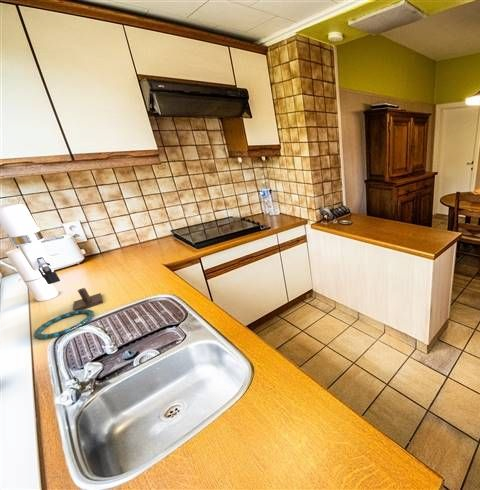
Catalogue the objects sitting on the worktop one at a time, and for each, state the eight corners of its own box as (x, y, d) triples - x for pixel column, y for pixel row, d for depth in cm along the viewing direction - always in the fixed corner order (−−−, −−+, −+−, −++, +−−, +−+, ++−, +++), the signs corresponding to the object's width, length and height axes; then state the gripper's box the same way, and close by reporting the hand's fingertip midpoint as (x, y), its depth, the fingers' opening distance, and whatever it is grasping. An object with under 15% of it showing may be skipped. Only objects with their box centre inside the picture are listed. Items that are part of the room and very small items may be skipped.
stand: (75, 312, 115) (66, 297, 112) (75, 304, 121) (67, 290, 118) (103, 302, 121) (95, 288, 118) (101, 295, 127) (94, 282, 124)
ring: (33, 346, 96) (31, 342, 96) (37, 326, 107) (35, 323, 106) (95, 323, 107) (93, 319, 106) (93, 307, 118) (92, 304, 117)
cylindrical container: (57, 291, 132) (30, 245, 123) (58, 295, 128) (30, 249, 118) (36, 298, 127) (5, 251, 118) (36, 303, 123) (4, 254, 113)
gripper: (8, 237, 97) (33, 278, 104) (13, 246, 88) (41, 290, 95) (38, 231, 103) (60, 270, 110) (47, 239, 94) (70, 280, 101)
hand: (51, 279), depth 102 cm, fingers open, 9 cm apart
